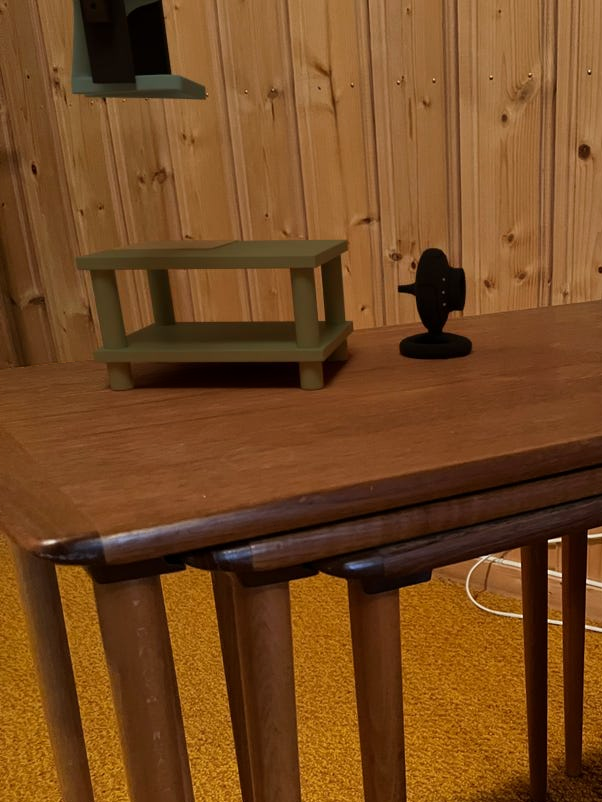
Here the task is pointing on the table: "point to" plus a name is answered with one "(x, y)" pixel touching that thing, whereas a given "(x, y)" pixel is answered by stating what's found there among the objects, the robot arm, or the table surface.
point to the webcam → (436, 307)
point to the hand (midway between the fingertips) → (135, 85)
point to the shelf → (222, 339)
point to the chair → (144, 84)
